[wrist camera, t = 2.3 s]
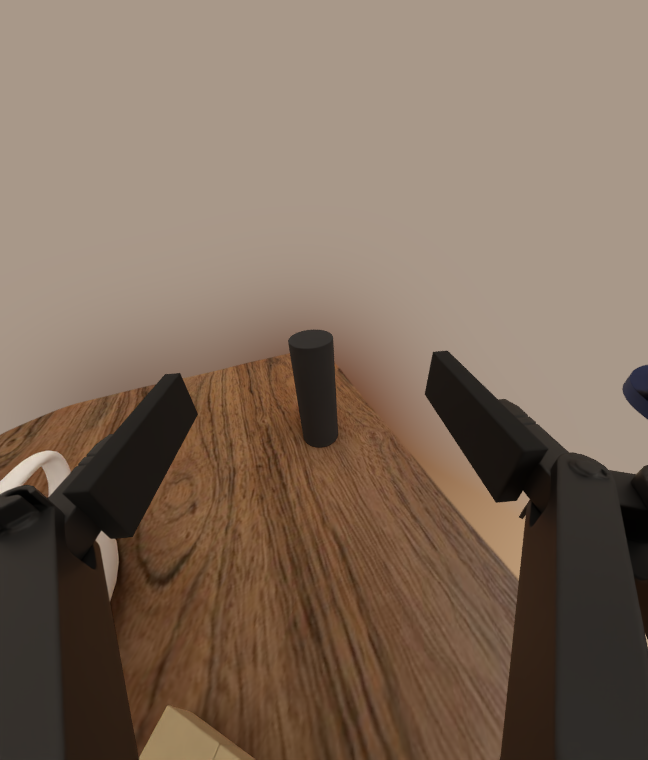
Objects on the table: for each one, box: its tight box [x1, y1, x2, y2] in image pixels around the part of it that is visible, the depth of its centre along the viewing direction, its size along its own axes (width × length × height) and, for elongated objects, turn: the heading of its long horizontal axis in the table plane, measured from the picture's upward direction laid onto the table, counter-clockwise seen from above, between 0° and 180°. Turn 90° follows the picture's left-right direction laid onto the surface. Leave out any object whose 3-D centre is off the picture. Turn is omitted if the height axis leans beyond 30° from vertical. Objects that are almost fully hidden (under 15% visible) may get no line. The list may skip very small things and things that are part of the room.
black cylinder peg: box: [288, 330, 338, 447], centre depth 26 cm, size 4×4×12 cm
